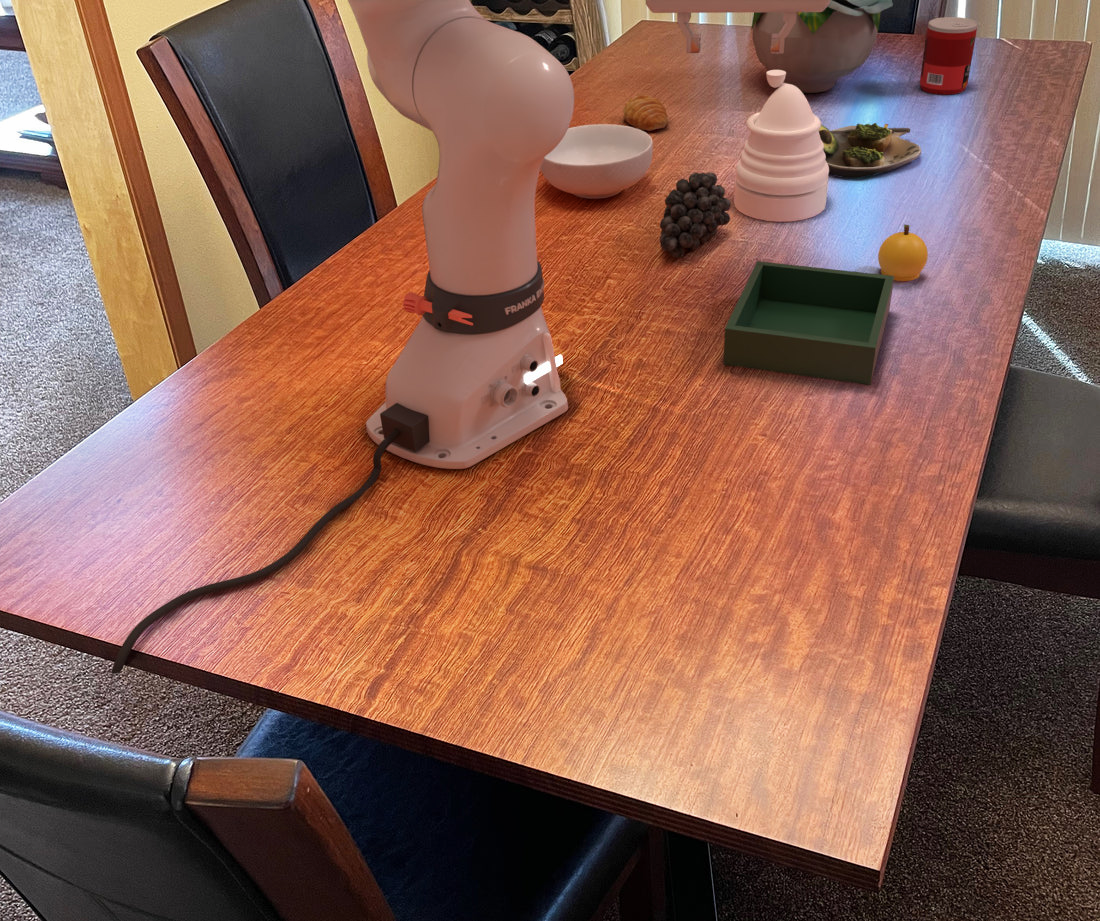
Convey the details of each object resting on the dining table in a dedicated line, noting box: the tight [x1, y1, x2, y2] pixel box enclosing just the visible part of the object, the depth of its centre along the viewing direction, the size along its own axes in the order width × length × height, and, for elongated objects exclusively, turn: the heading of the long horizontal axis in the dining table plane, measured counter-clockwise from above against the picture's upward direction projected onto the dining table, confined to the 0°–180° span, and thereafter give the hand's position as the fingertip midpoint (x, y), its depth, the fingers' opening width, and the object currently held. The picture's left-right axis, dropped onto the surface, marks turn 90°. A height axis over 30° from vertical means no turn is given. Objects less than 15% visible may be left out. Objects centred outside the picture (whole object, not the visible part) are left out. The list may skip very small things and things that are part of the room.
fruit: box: [659, 172, 732, 259], centre depth 146 cm, size 9×8×15 cm
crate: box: [722, 260, 895, 386], centre depth 125 cm, size 17×16×5 cm
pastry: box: [622, 94, 669, 132], centre depth 186 cm, size 9×7×4 cm
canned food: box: [919, 16, 978, 96], centre depth 190 cm, size 8×8×11 cm
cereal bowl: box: [540, 123, 654, 200], centre depth 163 cm, size 17×17×7 cm
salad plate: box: [818, 122, 922, 179], centre depth 170 cm, size 19×18×5 cm
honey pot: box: [733, 70, 830, 223], centre depth 153 cm, size 13×13×18 cm
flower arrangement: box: [751, 0, 894, 94], centre depth 191 cm, size 25×25×24 cm
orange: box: [877, 224, 929, 282], centre depth 136 cm, size 6×6×7 cm
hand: (735, 52), depth 126 cm, fingers open, 8 cm apart
